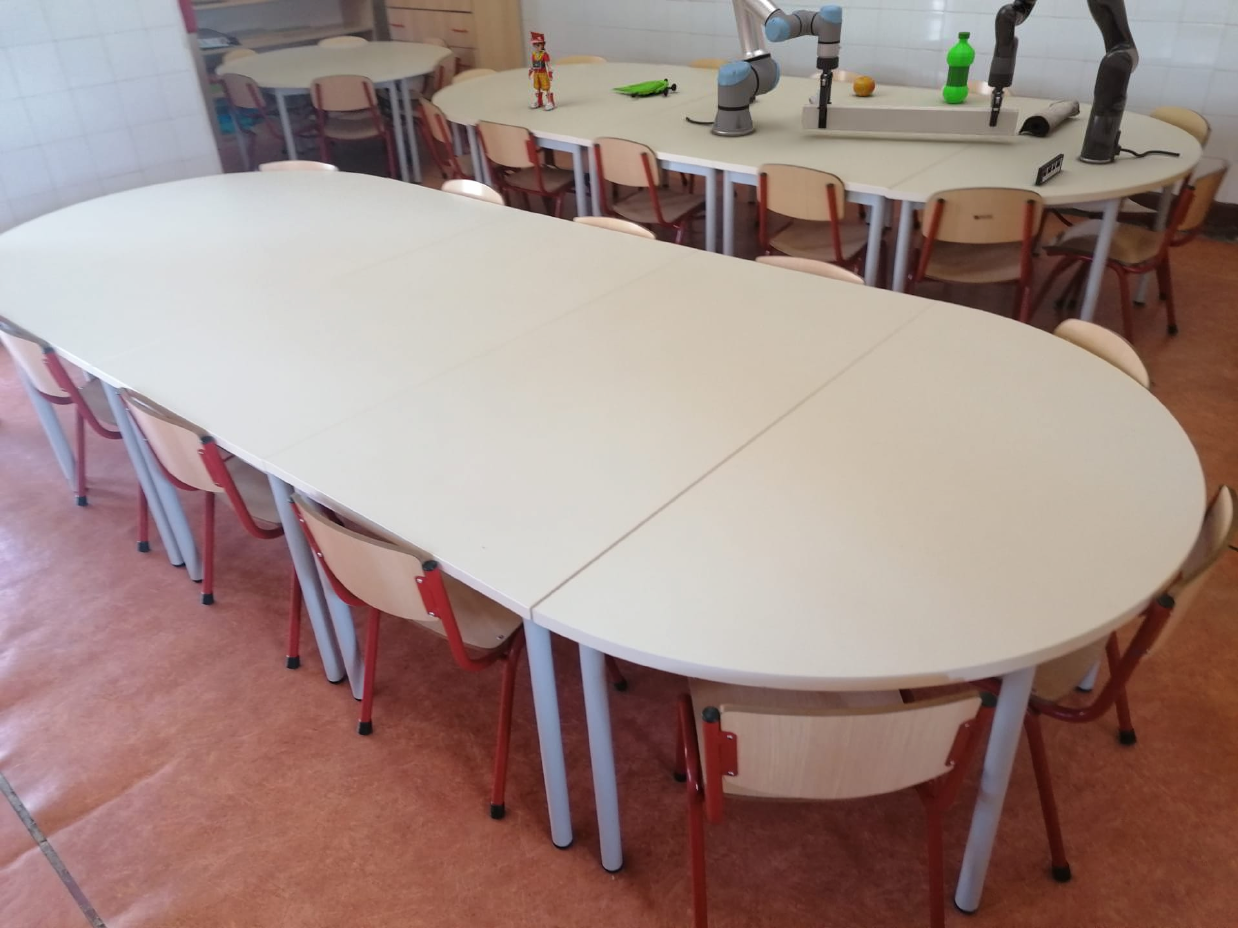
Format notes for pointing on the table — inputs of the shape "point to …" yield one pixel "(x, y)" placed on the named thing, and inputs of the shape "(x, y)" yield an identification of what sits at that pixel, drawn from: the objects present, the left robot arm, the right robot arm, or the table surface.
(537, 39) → the toy
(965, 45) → the plastic bottle
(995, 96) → the right robot arm
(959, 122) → the bar
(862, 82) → the fruit
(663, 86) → the toy
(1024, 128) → the rolled mat
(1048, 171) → the midi keyboard
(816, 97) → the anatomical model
